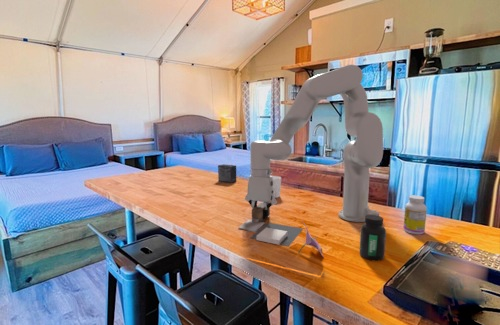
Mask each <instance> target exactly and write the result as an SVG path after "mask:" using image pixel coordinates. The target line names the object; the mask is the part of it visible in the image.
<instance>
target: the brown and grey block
mask: <svg viewBox="0 0 500 325" xmlns="http://www.w3.org/2000/svg"><path fill="white" fill-rule="evenodd" d="M270 208H271V207H270ZM270 208H269V215H268V217H270V214H271V213H270V212H271V210H270ZM263 210H264V203H263V202H260V203H259V204H257V206H256V207H255V208H252V209H251V219H247V220H246V221H244V222H243V223H242V224H241V225H240V226H238V227H237V228H238V230H242V231H243V230H244V231H247V232H248V231H249V232H253V233H256V232H258V231H259V230H260V229H261V228H262V227H264V226H265V225H266V224H265V222H264V221H265V220H266V219H263Z"/></svg>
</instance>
